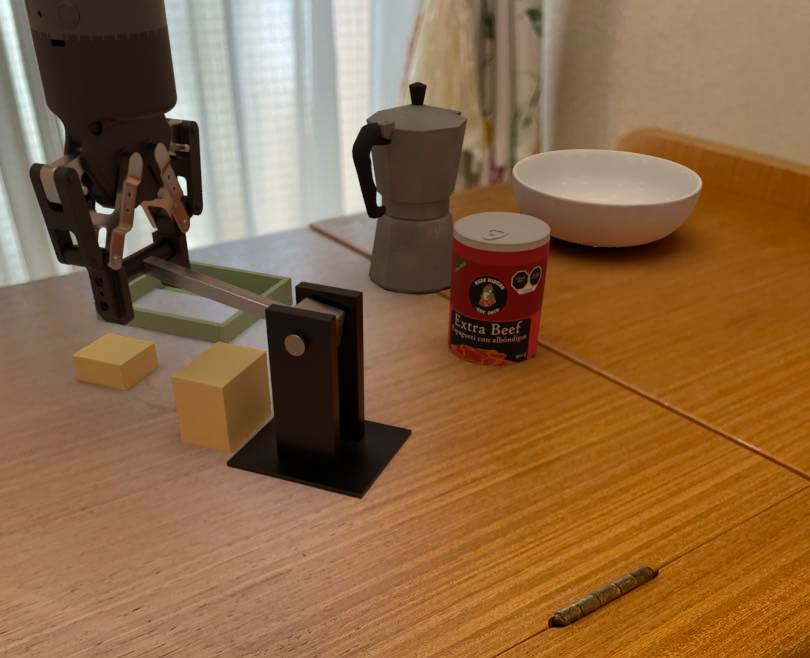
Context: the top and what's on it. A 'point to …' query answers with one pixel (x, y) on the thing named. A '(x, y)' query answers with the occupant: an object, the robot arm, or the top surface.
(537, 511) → the top surface
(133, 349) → the butter pat
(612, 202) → the serving bowl
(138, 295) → the dish
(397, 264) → the coffeepot
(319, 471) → the lever stand
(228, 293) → the lever
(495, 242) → the canned food
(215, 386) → the butter
